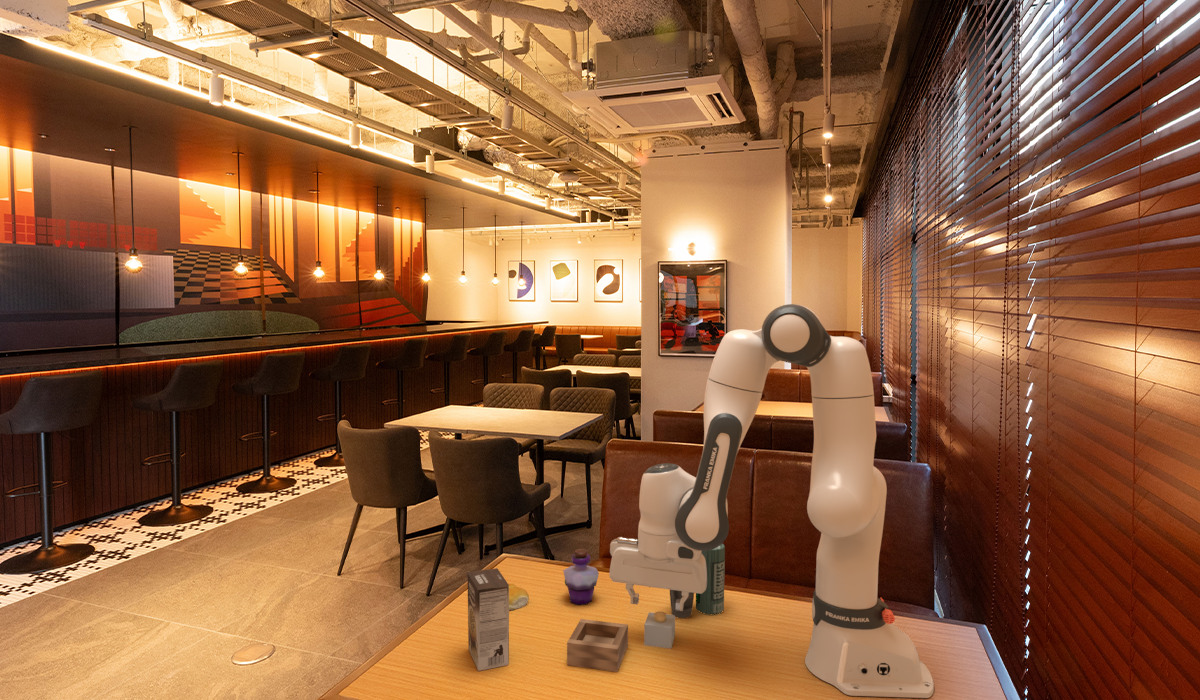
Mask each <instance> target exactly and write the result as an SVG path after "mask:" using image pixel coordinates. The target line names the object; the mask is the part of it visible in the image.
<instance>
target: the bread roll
mask: <svg viewBox="0 0 1200 700" xmlns="http://www.w3.org/2000/svg"><path fill="white" fill-rule="evenodd" d="M508 584H509V611H513V610H514V609H515V610H517V609H518V610H519V609H520V608H523V607H525V606H526V605H527V604H528V601H529V597H530V596H529V595H530V594H529V593H528V591H527V590H526V589H524V588H522V587H520V586H517V585H515V584H513V583H508Z"/></svg>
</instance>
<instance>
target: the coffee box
mask: <svg viewBox="0 0 1200 700" xmlns="http://www.w3.org/2000/svg"><path fill="white" fill-rule="evenodd" d="M466 574H467V618H468V619H467V620H468V621H467V626H468V627H467V631H468V633H467V635H468V636H467V637H468V642H467V643H468V644H467V645H468V651H469V653H470V656H471V657H472V660H473V662H474V663H473V664H474V665H475V667H476V670H477V672H481V671H486V670H489V669H490V670H491V669H494V668H495V669H496V668H500V667H505V666H509V664H510V663H509V662H510V651H509V649H510V648H509V647H510V646H509V645H510V642H509V641H510V610H509V584H510V583H508V581H507V580H506V579H505V578H504V576H503V574H502V573H501V571H500V569H498V568H497V567H496V568H491V569H480V570H473V571H469V572H467V573H466Z"/></svg>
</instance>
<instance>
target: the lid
mask: <svg viewBox="0 0 1200 700" xmlns="http://www.w3.org/2000/svg"><path fill="white" fill-rule="evenodd" d="M643 630H644V635H643V636H644V637H643V639H644V641H643V642H644V643H643V646H646V647H647V646H648V647H654V648H655V647H656V648H663V649H672V648H673V644H674V640H675V636H676V617H675V615H672V614H667V613H666V612H664V611H655V612H650V611H649V612H648V614H647V617H646V620H645V622H644V629H643Z"/></svg>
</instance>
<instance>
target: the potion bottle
mask: <svg viewBox="0 0 1200 700" xmlns="http://www.w3.org/2000/svg"><path fill="white" fill-rule="evenodd" d="M571 562H572V564H574V565H570V566H568V567H567V568H565V569H563V571H562V572H563V575H564V584H565V586H566V588H567V590H568V595H569V598H568V600H569V603H570V604H573V605H575V606H585V605H586V606H587V605H590V603H592V602H593V596H594V591H595V586H596V587H597V583H598V579H599V571H598V569H597V568H596V567H595V566H591V565H588V564H590V563H591V556H590V554H588V550H587V549H584V548H578V549H575V550H574V554H572V555H571Z"/></svg>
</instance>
